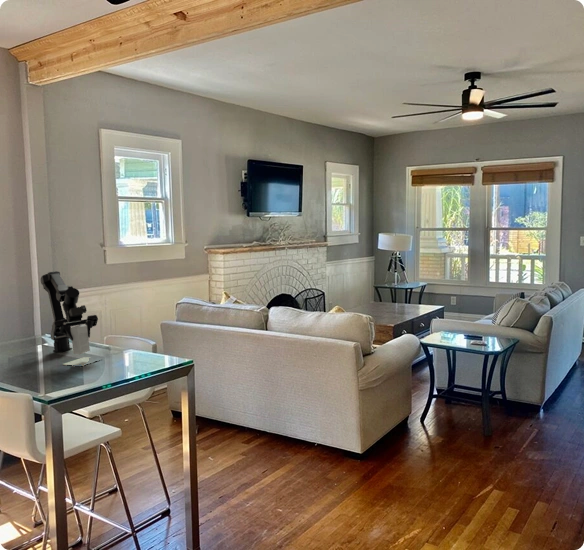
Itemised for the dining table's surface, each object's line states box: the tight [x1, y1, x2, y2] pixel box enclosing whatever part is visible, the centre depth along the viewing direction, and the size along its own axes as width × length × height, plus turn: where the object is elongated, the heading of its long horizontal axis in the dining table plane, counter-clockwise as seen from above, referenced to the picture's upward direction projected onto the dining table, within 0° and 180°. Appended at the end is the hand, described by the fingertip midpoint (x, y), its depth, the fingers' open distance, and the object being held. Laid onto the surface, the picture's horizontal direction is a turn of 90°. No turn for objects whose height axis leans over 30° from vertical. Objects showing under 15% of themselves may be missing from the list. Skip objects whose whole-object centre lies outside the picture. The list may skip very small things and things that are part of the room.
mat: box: [62, 356, 90, 367], centre depth 246 cm, size 12×12×1 cm
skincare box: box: [70, 324, 91, 355], centre depth 245 cm, size 6×4×12 cm
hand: (81, 338), depth 244 cm, fingers closed on skincare box, 7 cm apart
